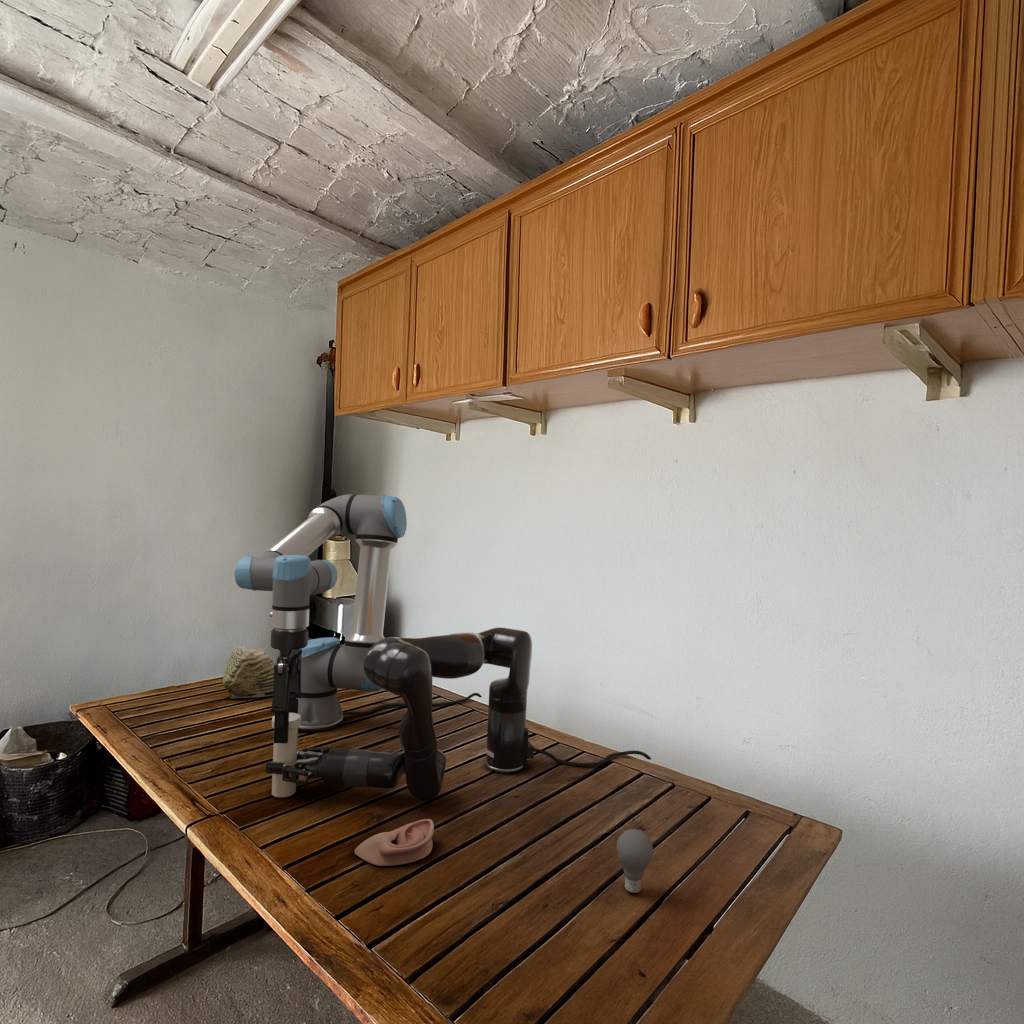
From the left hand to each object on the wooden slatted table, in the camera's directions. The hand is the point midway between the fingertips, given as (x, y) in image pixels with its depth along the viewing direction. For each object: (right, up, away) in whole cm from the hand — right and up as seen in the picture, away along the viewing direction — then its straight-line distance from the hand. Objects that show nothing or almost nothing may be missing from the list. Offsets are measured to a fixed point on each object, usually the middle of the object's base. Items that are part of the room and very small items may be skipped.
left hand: (285, 735), depth 135 cm
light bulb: (+68, -16, -29) cm, 76 cm away
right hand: (-3, -6, 0) cm, 6 cm away
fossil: (-32, -10, +63) cm, 72 cm away
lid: (0, +4, 0) cm, 4 cm away
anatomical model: (+27, -14, -20) cm, 36 cm away
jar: (-1, -12, 0) cm, 12 cm away
